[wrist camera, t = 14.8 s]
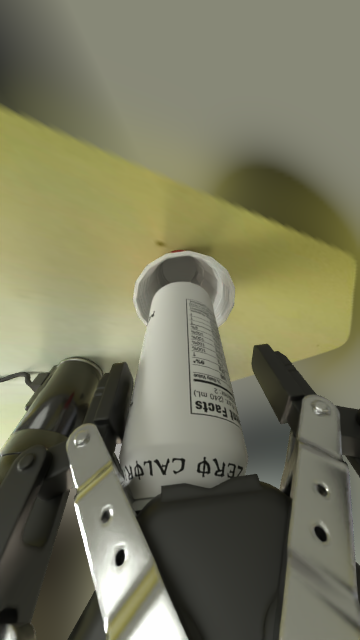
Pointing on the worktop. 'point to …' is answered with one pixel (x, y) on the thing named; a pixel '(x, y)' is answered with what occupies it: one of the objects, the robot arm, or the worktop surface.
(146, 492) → the energy drink can
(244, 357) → the worktop surface
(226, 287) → the plastic cup
